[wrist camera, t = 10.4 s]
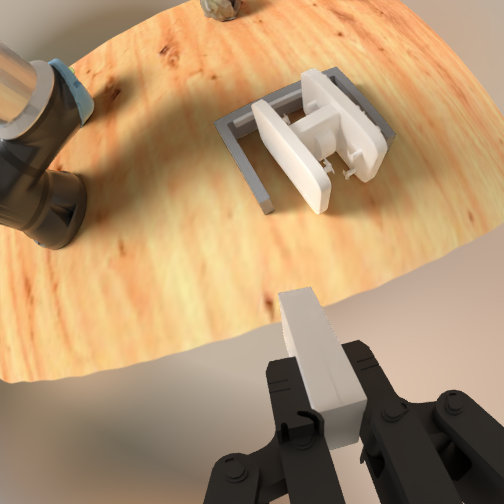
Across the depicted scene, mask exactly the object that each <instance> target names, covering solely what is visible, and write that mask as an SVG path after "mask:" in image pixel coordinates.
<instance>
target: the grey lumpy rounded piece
mask: <svg viewBox="0 0 504 504" xmlns="http://www.w3.org/2000/svg"><path fill="white" fill-rule="evenodd" d="M240 2H241V0H200V4H201V7H202V9H203V10H204V12H205V16H206V17H207V18H214V19H216V20H218V21H225V20H231V19H235V17H236V15H237V13H238V11H239V9H240Z"/></svg>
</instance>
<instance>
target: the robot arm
mask: <svg viewBox="0 0 504 504" xmlns="http://www.w3.org/2000/svg"><path fill="white" fill-rule="evenodd" d="M93 110H94V101H93V99H92V97H91V96H90V94H89V93H88V91H87V90H86V88H85V87H84V86H83V85H82V83H81V82H79V80H78V79H77V78H76V76H75V75H74V74H73V72H72V71H71V70H70V69H69V68H68V67H67V66H66V65H65V64H64V63H63V62H62V61H61V60H59V59H54V60H52V61H51V62H49V63H46V62H45V61H41V60H36V61H31V62H29V63H28V62H27V61H26V60H25V59H23V58H22V57H21V56H20V55H18V54H17V53H16V52H15V51H13V50H12V49H11V48H10V47H8V46H7V45H6V44H5V43H3V42H2V41H1V40H0V225H4V226H7V227H10V228H13V229H17V230H20V231H23V232H24V233H25V234H26V235H27V236H29V237H30V238H31V239H33V240H34V241H35V242H36V243H37V244H38V245H40V246H41V247H44V248H48V249H53V250H55V249H59V248H62V247H63V246H65V245H66V244H67V243H69V242H70V240H71V239H72V238H73V237H74V236H75V234H76V232H77V231H78V229H79V227H80V225H81V223H82V220H83V217H84V213H85V209H86V189H85V186H84V183H83V182H82V180H81V179H80V178H79V177H77V176H76V175H74V174H72V173H70V172H67V171H54V170H46V169H47V167H48V166H49V165H50V164H51V162H52V161H53V160H54V158H55V157H56V156H57V155H58V153H59V152H60V151H61V150H62V149H63V147H64V146H65V145H66V144H67V143H68V141H69V140H70V139H71V138H72V137H73V136H74V135H75V133H76V132H77V131H78V130H79V129H80V128H82V126H83V124H84V122H85V121H86V120H87V119H88V117H89V116H90V115H91V114H92V112H93ZM278 296H279V303H280V311H281V318H282V326H283V333H284V340H285V343H286V347H287V350H288V354H289V358H284V359H280V360H275V361H270V362H269V364H268V367H267V370H266V377H267V383H268V388H269V393H270V399H271V404H272V410H273V415H274V420H275V425H276V431H275V435H274V437H273V439H272V440H271V442H270V443H269V444H268V445H267V446H265V447H263V448H262V449H260V450H258V451H256V452H253V453H251V454H249V455H245V454H242V453H232V454H229V455H226V456H223V457H222V458H220V459H219V460H218V461H217V462H216V463H215V465H214V467H213V469H212V473H211V476H210V481H209V484H208V488H207V492H206V495H205V499H204V503H203V504H269V502H271V501H273V500H275V499H277V498H279V497H281V496H283V495H285V494H287V493H288V494H289V499H290V504H346V503H345V500H344V497H343V493H342V490H341V487H340V484H339V481H338V477H337V474H336V471H335V468H334V464H333V461H332V458H331V455H330V452H329V450H333V449H336V448H340V447H344V446H347V445H350V444H354V443H357V442H358V440H359V436H360V438H361V440H362V443H363V445H364V446H363V450H362V453H361V456H360V464H362V463H363V462H364V460H365V462H366V465H367V467H368V470H369V473H370V475H371V478H372V480H373V483H374V486H375V489H376V492H377V494H378V497H379V500H380V503H381V504H463V503H464V504H504V427H503V426H502V425H501V424H499V423H498V422H497V421H496V420H495V419H494V418H493V417H492V416H490V414H488V413H487V412H486V411H485V410H484V409H483V408H482V407H480V406H479V405H478V404H477V403H476V402H475V401H474V400H473V399H471V398H470V397H469V396H468V395H467V394H465V393H463V392H462V391H458V390H449V391H446V392H444V393H442V394H441V395H440V396H439V398H438V399H437V401H434V402H426V403H410V402H408V401H407V400H405V399H403V398H401V397H399V396H398V395H397V394H396V392H395V391H394V389H393V387H392V385H391V384H390V382H389V380H388V378H387V377H386V375H385V374H384V372H383V370H382V368H381V366H379V363H378V361H377V360H376V358H375V357H374V355H373V353H372V351H371V350H370V349H369V347H368V346H367V345H366V344H364V343H363V342H361V341H360V340H357V341H353V342H349V343H345V344H340V342H339V341H338V338H337V336H336V334H335V332H334V330H333V328H332V326H331V324H330V322H329V320H328V319H327V317H326V315H325V313H324V311H323V309H322V307H321V305H320V303H319V301H318V299H317V297H316V295H315V294H314V292H313V290H312V288H311V287H306V288H302V289H297V290H292V291H287V292H282V293H278ZM462 502H463V503H462Z"/></svg>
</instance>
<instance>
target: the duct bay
mask: <svg viewBox="0 0 504 504" xmlns="http://www.w3.org/2000/svg"><path fill="white" fill-rule="evenodd" d="M321 73H322V74H324V75H327V78H328V79H329V80H330V81H331V82H332V83H333V84H335V85H336V86H337V87H338V88H339V89H340V90H341V91H342V92H343V93H344V94H345V95H346V96H348V98H349V99H350V100H351V101H352V102H353V103H354V104H355V105H356V106H357V105H358V106H359V107H360V110H361V111H362V112H363V111H365V113H364V114H365V115H367V117H368V118H369V119H370V121H371V122H372V123H373V124H374V125H375V126H378V127H379V128H380V129H381V131H380V132H381V133H382V135H383V137H384V139H385V141H386V143H387V152H388V150H389V148H390V146H391V144H392V142H393V140H394V137H395V135H396V134H395V133H394V131H393V130H392V129H391V127H390V126H389V125H388V124H387V122H386V121H385V120H384V119H383V117H382V116H381V115H380V114H379V113H378V111H377V110H376V109H375V108H374V107H373V106H372V104H371V103H370V102H369V101H368V100H367V99H366V97H365V96H364V95H363V94H362V93H361V92H360V91H359V90H358V89H357V88H356V86H355V85H354V84H353V83H352V82H351V81H350V80H349V79H348V78H347V77H346V76H345V75H344V74H343V73H342V72H341V71H340V70H339V69H338V68H337V67H334V68H331V69H328V70H325V71H323V72H321ZM261 99H262V100H264V101H266V102H267V103H268V104H269V105H270V106H271V107H272V108H273V109H274V110H275V112H276V113H277V114H278V115H279V116H280V117H281V118H282V117H284V114H285V115H288V114H290V113H293V112H295V111H297V110H299V109H301V108H303V99H302V86H301V80H300V81H298V82H296V83H293V84H291V85H288V86H286V87H284V88H282V89H279V90H277V91H275V92H273V93H271V94H268V95H266V96H264V97H262V98H260V99H258V100H256V101H254V102H251V103H249V104H247V105H245V106H243V107H241V108H239V109H237V110H235V111H233V112H232V113H230V114H228V115H226V116H224V117H222V118H220V119H218V120H216V121H215V122H213V123H214V125H215V127H216V129H217V130H218V132H219V134H220V136H221V138H222V140H223V141H224V143H225V145H226V146H227V148H228V150H229V152H230V153H231V155H232V157H233V159H234V160H235V162H236V164H237V166H238V167H239V169H240V171H241V173H242V175H243V176H244V178H245V180H246V182H247V183H248V185H249V187H250V189H251V191H252V192H253V194H254V196H255V198H256V200H257V201H258V203H259V205H260V207H261V209H262V210H263V212H264V214H265V215H266V214H268V213H270V212H272V211H274V210H275V209H274V207H273V204H272V201H271V198H270V196H269V195H268V193H267V191H266V190H265V188H264V186H263V184H262V183H261V181H260V179H259V177H258V176H257V174H256V172H255V171H254V169H253V167H252V166H251V164H250V162H249V160H248V159H247V157H246V155H245V154H244V152H243V150H242V149H241V147H240V145H239V144H238V142H237V140H238V139H240V138H242V137H244V136H246V135H248V134H250V133H252V132H253V131H255V130H257V129H258V126H257V123H256V120H255V117H254V114H253V111H252V108H251V105H252V104H253V103H255V102H257V101H259V100H261Z"/></svg>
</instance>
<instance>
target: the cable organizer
mask: <svg viewBox="0 0 504 504" xmlns="http://www.w3.org/2000/svg"><path fill="white" fill-rule="evenodd" d="M301 86H302V99H303V110H304V113H305V115H306V116H305V117H304V118H302V119H300V120H298V121H296V122H295V123H293V124H291V123H290V121H289V119H288V116H286V115H285V114H284V116H285V117H284V118H281V117H280V116H279V115H278V114H277V113H276V112H275V110H274V109H273V108H272V107H271V106H270V105H269V104H268V103H267V102H266V101H264V100H262V99H261V100H259V101H257V102H255V103H253V104H252V105H251V108H252V111H253V114H254V117H255V120H256V123H257V126H258V130H259V133H260V136H261V139H262V141H263V143H264V145H265V147H266V148H267V150H268V151H269V152H270V154H271V155H272V156H273V158H274V159H275V160H276V161H277V163H278V164H279V165H280V167H281V168H282V169H283V171H284V172H285V173H286V175H287V176H288V177H289V179H290V180H291V181H292V183H293V184H294V185H295V187H296V188H297V189H298V191H299V192H300V194H301V195H302V196H303V198H304V199H305V200H306V202H307V203H308V205H309V206H310V207H311V208H312V210H313V211H314V212H315V213H317V214H318V215H319V214H321V213H322V212H324V211H325V210H327V209H328V204H329V198H330V193H331V190H332V189H331V182H330V179H329V177H328V175H327V173H328V172H331V171H332V172H333V173H334V170H333V168H332V166H331V163H329V162H328V161H327V160H326V157H328V156H330V155H331V154H333V153H334V152H335V151H336V152H337V153H338V154H339V156H340V157H341V158H342V159H343V160H344V162H345V163H346V164H347V165H348V167H349V168H350V169H351V170H349V171H348V172H345V171H344V169H343V171H344V173H342V174H343V175H344V176H345V179H346V180H347V179H348V180H350V179H349V176H351V175H353V174H355V175H356V176H357V177H358V178H359V179H360V180H361V181H362V182H368V181H369V180H371V179H372V178H374V177H375V176H376V173H377V171H378V169H379V167H380V165H381V163H382V161H383V159H384V156H385V154H386V152H387V143H386V141H385V139H384V137H383V135H382V133H381V132H380V131H381V129H380V128H379V127H378V126H375V125H374V124H373V123H372V122H371V121H370V119H369V118H368V117H367V115H365V114H364V113H365V111H363V112H362V111H361V110H360V107H359V106H358V105H357V106H356V105H355V104H354V103H353V102H352V101H351V100H350V99H349V98H348V96H346V95H345V94H344V93H343V92H342V91H341V90H340V89H339V88H338V87H337V86H336V85H335V84H333V83H332V82H331V81H330V80H329V79H328V78H327V75H324V74H322V73H321V72H320V71H319V70H317V69H314V68H312V69H309V70H307V71H305V72H303V73H301ZM286 123H288V125H289V123H290V124H291V125H289V126H288V125H287V124H286ZM323 159H324V160H325V162H323V163H324V164H325V165H326V167H324V168H323V167H322V166H321V165H320V163H319V162H318V161H321V160H323ZM334 174H335V173H334Z"/></svg>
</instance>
